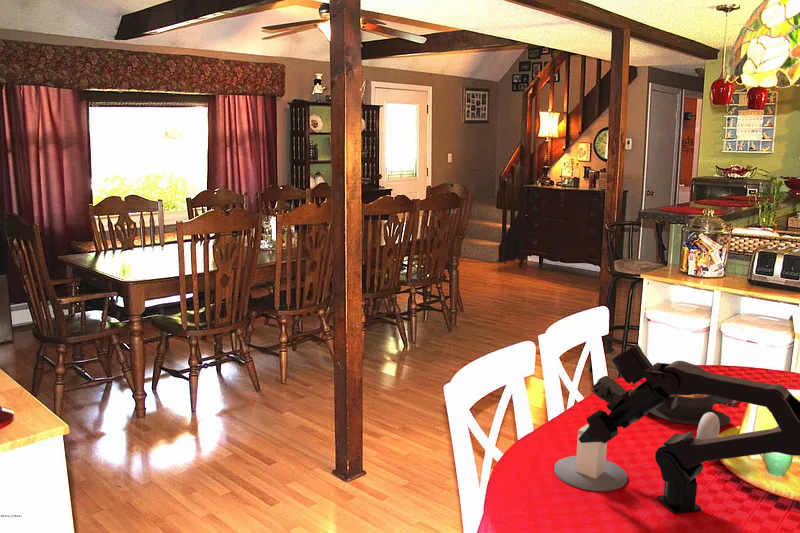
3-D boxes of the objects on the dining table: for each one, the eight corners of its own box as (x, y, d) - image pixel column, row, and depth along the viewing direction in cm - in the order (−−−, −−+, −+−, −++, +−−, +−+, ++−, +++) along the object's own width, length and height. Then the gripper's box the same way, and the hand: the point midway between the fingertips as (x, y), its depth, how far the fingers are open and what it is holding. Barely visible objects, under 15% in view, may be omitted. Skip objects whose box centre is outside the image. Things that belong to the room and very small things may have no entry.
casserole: (622, 413, 198) (625, 384, 197) (651, 396, 212) (654, 369, 210) (714, 441, 182) (718, 409, 180) (740, 421, 195) (743, 391, 193)
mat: (640, 488, 156) (641, 485, 156) (573, 494, 153) (573, 491, 152) (605, 455, 171) (605, 453, 171) (542, 460, 168) (543, 458, 168)
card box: (604, 471, 162) (608, 430, 160) (595, 478, 158) (599, 436, 157) (584, 464, 165) (587, 424, 163) (575, 471, 162) (578, 429, 160)
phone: (746, 390, 216) (734, 404, 205) (745, 394, 217) (733, 408, 205) (718, 384, 221) (705, 397, 209) (718, 388, 221) (705, 401, 210)
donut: (704, 443, 180) (708, 405, 178) (719, 447, 178) (723, 409, 176) (692, 456, 172) (696, 417, 170) (707, 460, 170) (711, 421, 168)
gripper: (635, 359, 161) (586, 393, 170) (598, 379, 147) (547, 415, 156) (666, 401, 158) (615, 433, 167) (632, 425, 144) (578, 460, 153)
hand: (589, 434), depth 161 cm, fingers open, 9 cm apart
